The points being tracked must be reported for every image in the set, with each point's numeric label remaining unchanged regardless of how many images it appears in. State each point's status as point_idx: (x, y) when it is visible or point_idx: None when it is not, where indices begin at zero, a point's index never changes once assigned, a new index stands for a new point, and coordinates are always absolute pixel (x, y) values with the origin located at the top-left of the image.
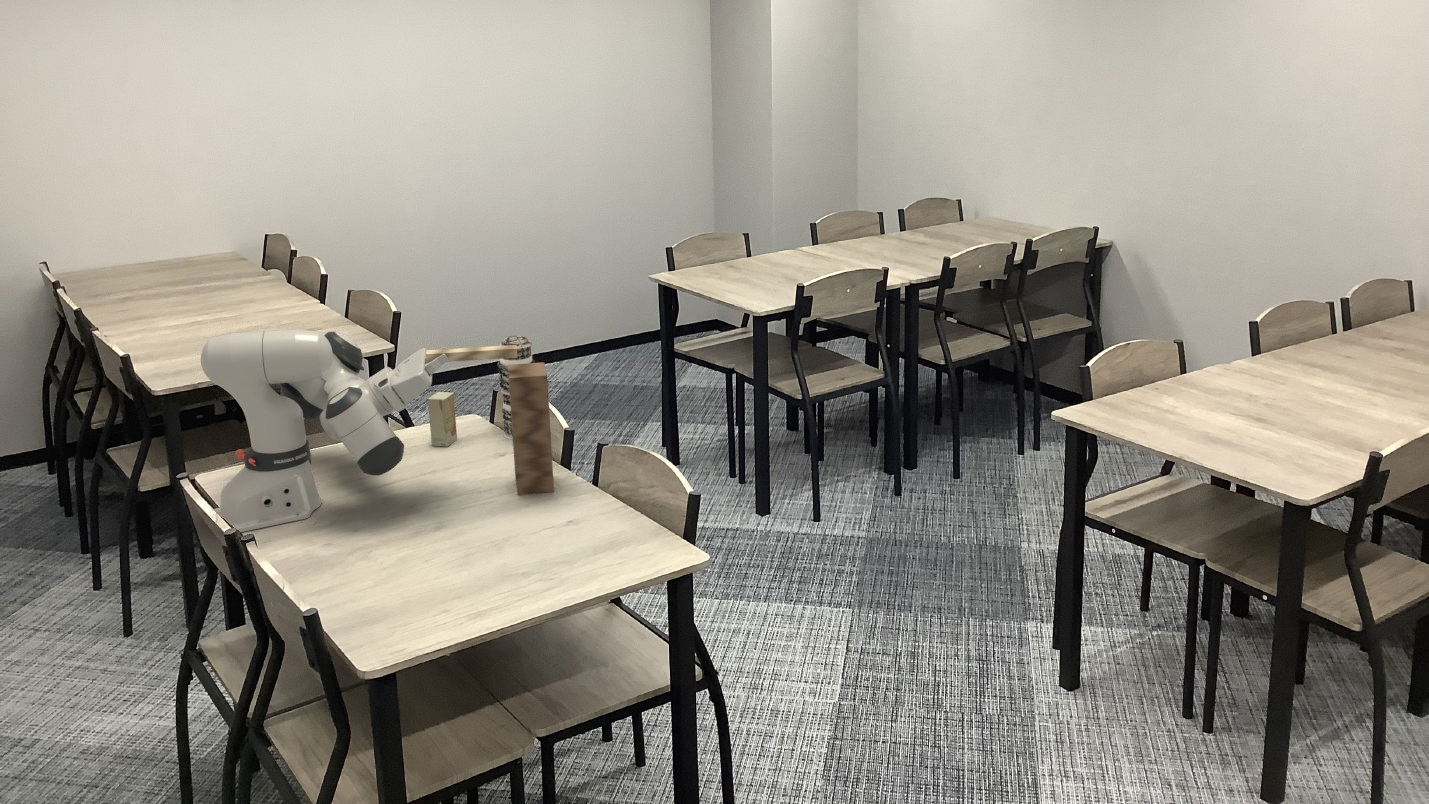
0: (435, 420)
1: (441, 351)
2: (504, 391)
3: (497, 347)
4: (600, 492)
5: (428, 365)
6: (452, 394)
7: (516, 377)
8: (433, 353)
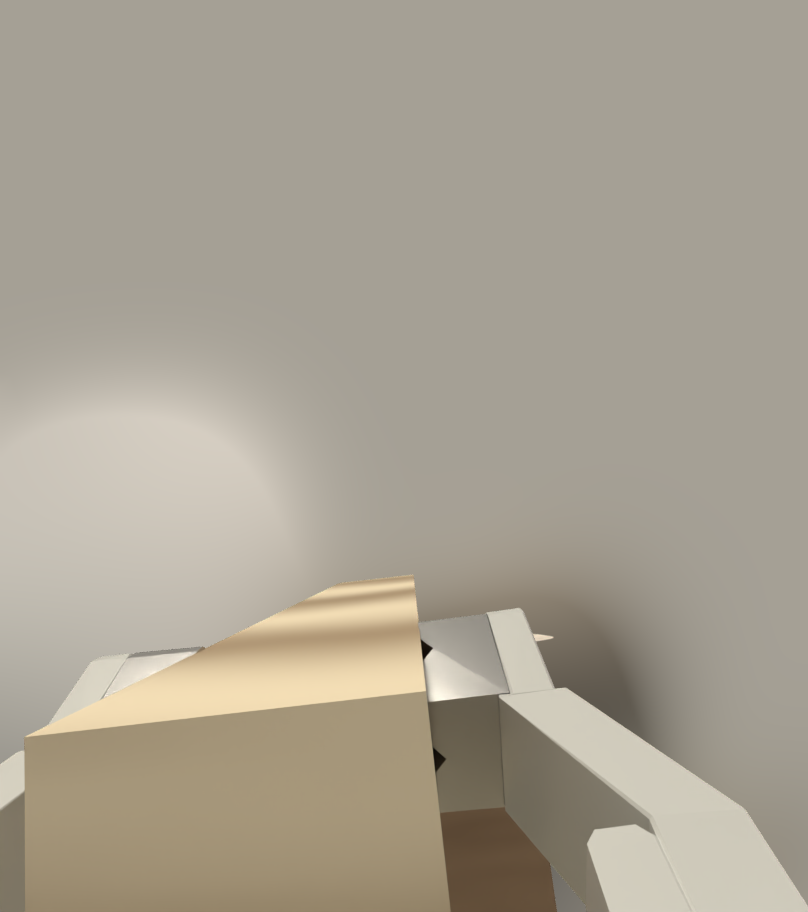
0: None
1: (311, 644)
2: None
3: (359, 586)
4: None
5: (780, 883)
6: None
7: None
8: (399, 657)
